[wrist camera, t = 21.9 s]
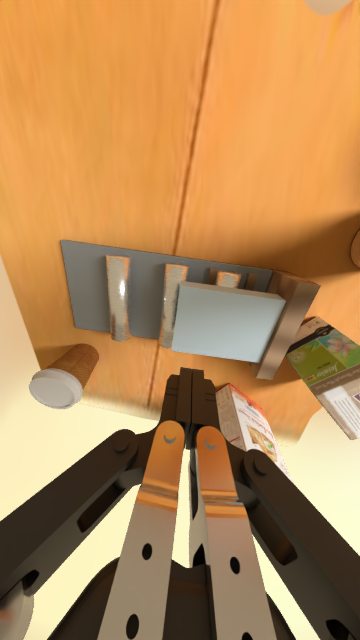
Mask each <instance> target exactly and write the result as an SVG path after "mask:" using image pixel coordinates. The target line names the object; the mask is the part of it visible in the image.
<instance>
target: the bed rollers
mask: <svg viewBox="0 0 360 640" xmlns="http://www.w3.org/2000/svg"><path fill="white" fill-rule="evenodd" d="M106 265H107V281H108V297H109V313H110V328H111V338H112V339H113V340H115V341H126V340H128V339H129V338H130V337H131V257H130V256H126V255H119V254H108V255H106ZM188 270H189V266H188V265H185V264H181V263H174V262H167V263H166V264H165V276H164V287H163V298H162V310H161V321H160V332H159V344H160V345H161V346H162V347H165V348H172V343H173V335H174V328H175V320H176V313H177V305H178V298H179V290H180V284H181V281H187V277H188Z"/></svg>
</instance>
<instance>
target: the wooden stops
mask: <svg viewBox="0 0 360 640" xmlns="http://www.w3.org/2000/svg"><path fill="white" fill-rule="evenodd" d="M218 270H219V269H217V268H209V273H208V278H207V283H206V284H208V285H215V281H216V277H217V272H218ZM257 277H258V275H257V274H251V273H248V274H247V278H246V281H245V284H244V288H243V290H250V291H253V289H254V286H255V283H256V280H257ZM319 288H320V285H318V284H316V283H313V282H311V281H308V280H306V279H303V278H301V277H299V276H296V275H294V274H291V273H289V272H284V271H277V270H273V273H272V275H271V278H270V281H269V283H268V286H267V289H266V291H265V293H271V294H278V295H279V296H280V297H282V298H283V299H285V300H286V303H285V306H284V308H283V310H282V312H281V315H280V317H279V319H278V322H277V324H276V326H275V328H274V331H273V333H272V335H271V337H270V340H269V342H268V344H267V347H266V349H265V351H264V353H263V356H262V358H261V360H260V362H259V363H257V362H250V361H249V363H250V365H251V368H252V370H253V372H254V374H255V376H256V378H260V379H267V380H273V378H274V376H275V374H276V372H277V370H278V368H279V366H280V364H281V362H282V360H283V358H284V356H285V354H286V352H287V350H288V349H289V347H290V345H291V343H292V341H293V339H294V337H295V335H296V333H297V331H298V329H299V327H300V325H301V323H302V321H303V319H304V317H305V315H306V314H307V312H308V310H309V308H310V306H311V304H312V302H313V300H314V298H315V296H316V294H317V292H318V290H319Z"/></svg>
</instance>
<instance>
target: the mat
mask: <svg viewBox="0 0 360 640" xmlns="http://www.w3.org/2000/svg"><path fill="white" fill-rule="evenodd" d="M61 246H62V252H63V257H64V263H65V269H66V275H67V281H68V287H69V293H70V299H71V305H72V310H73V316H74V322H75V328H79V329H86V330H93V331H101V332H108V333H111V328H110V313H109V297H108V281H107V265H106V255H108V254H119V255H126V256H130V257H131V336H137V337H144V338H151V339H158V340H159V332H160V321H161V310H162V298H163V287H164V276H165V264H166V263H167V262H174V263H181V264H185V265H188V266H189V270H188V277H187V282H194V283H201V284H206V283H207V278H208V273H209V268H217V269H219V270H228V271H233V272H237V273H240V274H241V279H240V282H239V286H238V289H243V288H244V284H245V281H246V278H247V274H248V273H251V274H257V275H258V277H257V280H256V283H255V286H254V289H253V291H257V292H264V293H265V291H266V289H267V286H268V283H269V281H270V278H271V275H272V273H273V270H270V269H263V268H256V267H249V266H242V265H235V264H228V263H221V262H214V261H207V260H201V259H194V258H187V257H180V256H173V255H166V254H159V253H152V252H145V251H138V250H131V249H124V248H118V247H111V246H104V245H97V244H90V243H83V242H76V241H69V240H61Z"/></svg>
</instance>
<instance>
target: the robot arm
mask: <svg viewBox="0 0 360 640" xmlns="http://www.w3.org/2000/svg"><path fill="white" fill-rule="evenodd" d="M351 258H352V260H353V262H354V263H355V265H357V266H358V267H360V230H359V231H358V233H357V234H356V236H355V238H354V240H353V243H352V246H351ZM185 444H186V449H188V450H190V461H189V466H188V471H189V501H190V530H189V562H190V563H189V564H190V568H185V567H183V566H182V565H180V564H178V563H177V562H175V561H174V560H172V550H173V541H174V532H175V524H176V515H177V506H178V490H179V481H180V473H181V464H182V455H183V450H184V448H185ZM139 484H141V486H140V488H139V491H138V494H137V497H136V501H135V504H134V508H133V512H132V515H131V519H130V522H129V526H128V530H127V533H126V537H125V541H124V544H123V548H122V552H121V555H120V557H118V558H116V559H114V560H113V561H111V562H110V563H108V564H107V565H106V566H105V567H104V568H102V569H101V570H100V571H99V573H97V574H96V576H95V577H94V578H93V579H92V580H91V581H90V583H89V584H88V585H87V586H86V588H85V589H84V590H83V592H82V593H81V594H80V596H79V597H78V598H77V600H76V601H75V602H74V604H73V605H72V606H71V608H70V609H69V611H68V612H67V613H66V615H65V616H64V617H63V619H62V620H61V621H60V623H59V624H58V625H57V627H56V628H55V630H54V631H53V632H52V634H51V635H50V636H49V638H48V639H47V640H296V639H295V637H294V635H293V633H292V632H291V630H290V628H289V627H288V624H287V623H286V621H285V619H284V618H283V616H282V614H281V612H280V611H279V609H278V608H277V606H276V605H275V603H274V602H273V600H272V599H271V597H270V596H269V595H268V594H267V592H266V591H265V587H264V583H263V579H262V575H261V570H260V566H259V562H258V558H257V554H256V549H255V545H254V541H253V536H254V537H255V539H256V540H257V542H258V543H259V545H260V546H261V548H262V550H263V551H264V553H265V554H266V556H267V557H268V559H269V560H270V562H271V563H272V565H273V566H274V568H275V570H276V571H277V573H278V574H279V576H280V577H281V579H282V581H283V582H284V584H285V585H286V587H287V588H288V590H289V591H290V593H291V595H292V596H293V598H294V599H295V601H296V602H297V604H298V605H299V607H300V609H301V610H302V612H303V613H304V615H305V616H306V618H307V619H308V621H309V623H310V624H311V626H312V627H313V629H314V630H315V632H316V633H317V635H318V637H319V638H320V640H360V556H359V555H358V554H357V553H356V552H355V551H354V550H353V548H352V547H351V546H350V545H349V544H348V543H347V542H346V541H345V540H344V539H343V538H342V537H341V535H340V534H339V533H338V532H337V531H336V530H335V529H334V528H333V527H332V525H331V524H330V523H329V522H328V521H327V520H326V519H325V518H324V517H323V516H322V514H321V513H320V512H319V511H318V510H317V509H316V508H315V507H314V506H313V505H312V503H311V502H310V501H309V500H308V499H307V498H306V497H305V496H304V495H303V494H302V492H301V491H300V490H299V489H298V488H297V487H296V486H295V485H294V484H293V483H292V482H291V480H290V479H289V478H288V477H287V476H286V475H285V474H284V473H283V472H282V471H281V469H280V468H279V467H278V466H277V465H276V464H275V463H274V462H273V461H272V460H271V459H270V457H269V456H268V455H267V454H265V453H264V452H262V451H260V450H258V449H250V450H248V451H247V452H246V451H244V450H242V449H240V448H238V447H236V446H234V445H233V444H231V443H230V442H229V441H228V440H227V439H226V438H225V437H224V435H223V434H222V432H221V429H220V423H219V415H218V407H217V400H216V392H215V386H214V384H213V383H212V381H211V380H209V379H204V371H203V370H197V369H190V368H183V367H181V368H180V375H173V374H172V375H171V376H170V377H169V379H168V380H167V385H166V390H165V396H164V401H163V407H162V412H161V417H160V421H159V423H158V425H157V426H156V427H155V428H154V429H153V430H151V431H149V432H146V433H142V434H135V433H134V432H132V431H131V430H128V429H122V430H119V431H116V432H115V433H114V434H112V435H111V436H109V437H108V438H107V439H106V440H104V441H103V442H102V443H101V444H99V445H98V446H97V447H95V448H94V449H93V450H91V451H90V452H89V453H88V454H86V455H85V456H84V457H82V458H81V459H80V460H79V461H77V462H76V463H75V464H74V465H72V466H71V467H70V468H68V469H67V470H66V471H65V472H63V473H62V474H61V475H59V476H58V477H57V478H55V479H54V480H53V481H52V482H50V483H49V484H48V485H46V486H45V487H44V488H43V489H41V490H40V491H39V492H37V493H36V494H35V495H34V496H32V497H31V498H30V499H29V500H27V501H26V502H25V503H24V504H22V505H21V506H19V507H18V508H17V509H16V510H14V511H13V512H12V513H11V514H9V515H8V516H7V517H6V518H4V519H3V520H1V521H0V640H23V639H24V637H25V634H26V632H27V630H28V627H29V624H30V621H31V617H32V613H33V607H34V596H33V595H34V594H35V593H36V592H37V591H38V590H39V589H40V587H41V586H42V585H43V584H44V583H45V582H46V581H47V580H48V579H49V578H50V577H51V575H52V574H53V573H54V572H55V571H56V570H57V569H58V568H59V567H60V566H61V564H62V563H63V562H64V561H65V560H66V559H67V558H68V557H69V556H70V555H71V554H72V552H73V551H74V550H75V549H76V548H77V547H78V546H79V545H80V544H81V542H83V540H84V539H85V538H86V537H87V536H88V535H89V534H90V533H91V532H92V531H93V529H94V528H95V527H96V526H97V525H98V524H99V523H100V522H101V521H102V520H103V519H104V517H105V516H106V515H107V514H108V513H109V512H110V511H111V509H113V508H114V506H115V505H116V504H117V503H118V502H119V501H120V500H121V499H122V498H123V497H124V495H125V494H126V493H127V492H128V491H129V490H130V489H131V488H132V487H133V486H135V485H139ZM252 534H253V536H252Z"/></svg>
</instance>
